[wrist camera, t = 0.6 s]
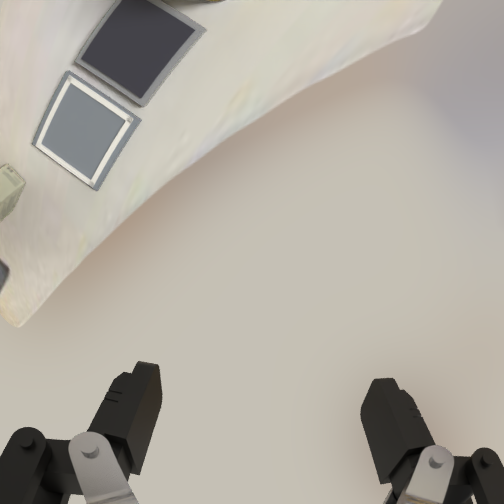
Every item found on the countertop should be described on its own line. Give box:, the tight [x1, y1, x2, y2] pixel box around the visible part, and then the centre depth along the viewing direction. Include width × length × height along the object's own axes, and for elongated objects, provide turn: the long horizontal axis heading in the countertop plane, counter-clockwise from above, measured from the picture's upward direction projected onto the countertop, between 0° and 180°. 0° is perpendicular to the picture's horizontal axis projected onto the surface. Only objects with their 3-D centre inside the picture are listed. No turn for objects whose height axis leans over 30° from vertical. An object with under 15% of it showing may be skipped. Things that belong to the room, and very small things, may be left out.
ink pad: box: [75, 0, 207, 107], centre depth 24 cm, size 10×10×1 cm
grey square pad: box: [32, 71, 142, 191], centre depth 28 cm, size 11×10×1 cm
